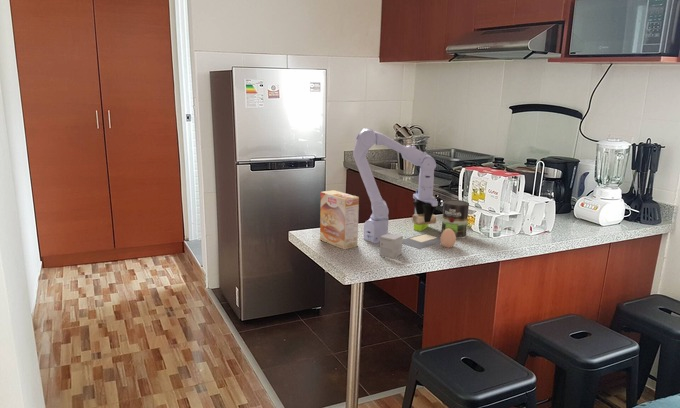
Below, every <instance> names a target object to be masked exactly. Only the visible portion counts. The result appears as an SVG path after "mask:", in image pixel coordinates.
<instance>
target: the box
mask: <svg viewBox="0 0 680 408" xmlns="http://www.w3.org/2000/svg"><path fill="white" fill-rule="evenodd" d="M415 194H418V189H417V190H415ZM414 201H416V199H414ZM416 214H417V212H416V208H415V207H414V215H416ZM428 227H429V224H424V225H417V224H415V223H413V231H418V232H422V231H424V230H425V229H426V228H428Z"/></svg>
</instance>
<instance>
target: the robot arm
mask: <svg viewBox="0 0 680 408" xmlns="http://www.w3.org/2000/svg"><path fill="white" fill-rule="evenodd" d="M374 145H375V146H385V147H387V148H389V149H391V150H392V151H395V152H397V153H399V154H400V155H401V158H402V159H403V160H405V161H407V162H408V163H410V164H412V165H414V166H416V167H418V166H419V174H418V188H417V190H418V194H416V193H413V194H412V198H413V199H414V200H413V201H412V204H413V206H414V209H415V208H416V212H417V214H424V220H425V222H430V220H431V217H432V214H433V215H434V213H435V210H436V209H437V207H439V206H438V205H439V201H438V200H436V197H435V196H433V195H434V182H435V175H434V174H435V169H436V167H437V163H436V159H434V157H432V156H431V155H430V154H429V153H427V152H426V151H422V150H420V149H418V148H417V146H415V145H411V144H410V145H409V144H408V145H403V144H401V143H400V142H398V141H397V140H394V139H392V138H391V137H389V136H387V135H385V134H384V133H382V132H379V131H377V130H373V129H371V128H369V127H365V128H362V129H361V130H360V131H359V133H358V135H357V136H356V139H355V143H354V148H353V151H352V156H353V159H354V162H355V164H356V167H357V169H358V172H359V174H360V177H361V180H362V182H363V185H364V187H365V189H366V193H367V195H368V198H369V200H370V204H371V205H370V206H371V207H370V208H371V211H372V213H371V214H370V217H369V219H368V220H365V222H364V224H363V237H362V238H361V239H362V240H365V241H368V242H371V243H374V244H379V243H380V239H381V236H383V235H385V234H387V233H389V211H390V210H389V208H388V204H387V202H386V201H385V200H384V199H383V198H382V196H381V192H380V190H379V188H378V185H377V182H376V179H375V177H374V173H373V172H372V170H371V166H370V163H369V161H368V159H367V155H368V152H369V151H370V149H371V148H372V147H373V146H374ZM415 199H416V201H415Z"/></svg>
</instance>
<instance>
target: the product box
mask: <svg viewBox="0 0 680 408" xmlns="http://www.w3.org/2000/svg"><path fill="white" fill-rule="evenodd" d="M403 237H404V236H403V235H399V234H395V233H391V232H388V233H387V234H385V235H383V236H381V239H380V242H379V243H380V244H379V256H380V257H384V258H390V259H393V260H394V258H396V257H398V256H400V255H402V251H403V244H402V240H403Z"/></svg>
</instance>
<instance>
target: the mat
mask: <svg viewBox="0 0 680 408" xmlns="http://www.w3.org/2000/svg"><path fill="white" fill-rule="evenodd" d="M440 238H441V237H439V236H435V235H432V234H428V233H421V234H419V235H414V236H411V237H408V238H404V239H403V240H402V245H405V246H409V247H411V248H414V249H417V250H422V249H425V248H428V247H433V246H436V245H438V244H441V240H440Z"/></svg>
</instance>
